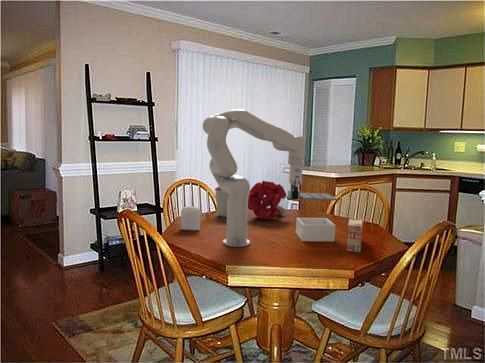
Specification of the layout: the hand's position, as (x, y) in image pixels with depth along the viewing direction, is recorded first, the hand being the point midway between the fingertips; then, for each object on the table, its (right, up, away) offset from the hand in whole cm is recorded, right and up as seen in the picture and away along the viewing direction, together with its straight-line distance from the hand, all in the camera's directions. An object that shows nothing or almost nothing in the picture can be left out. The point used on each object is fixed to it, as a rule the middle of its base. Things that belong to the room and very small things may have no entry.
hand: (293, 198), depth 202 cm
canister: (-34, -13, +49) cm, 61 cm away
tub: (+11, -20, +3) cm, 23 cm away
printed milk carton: (+27, -22, -10) cm, 36 cm away
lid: (+8, 0, 0) cm, 8 cm away
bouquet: (-10, -14, +45) cm, 48 cm away
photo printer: (-53, -17, +12) cm, 57 cm away
